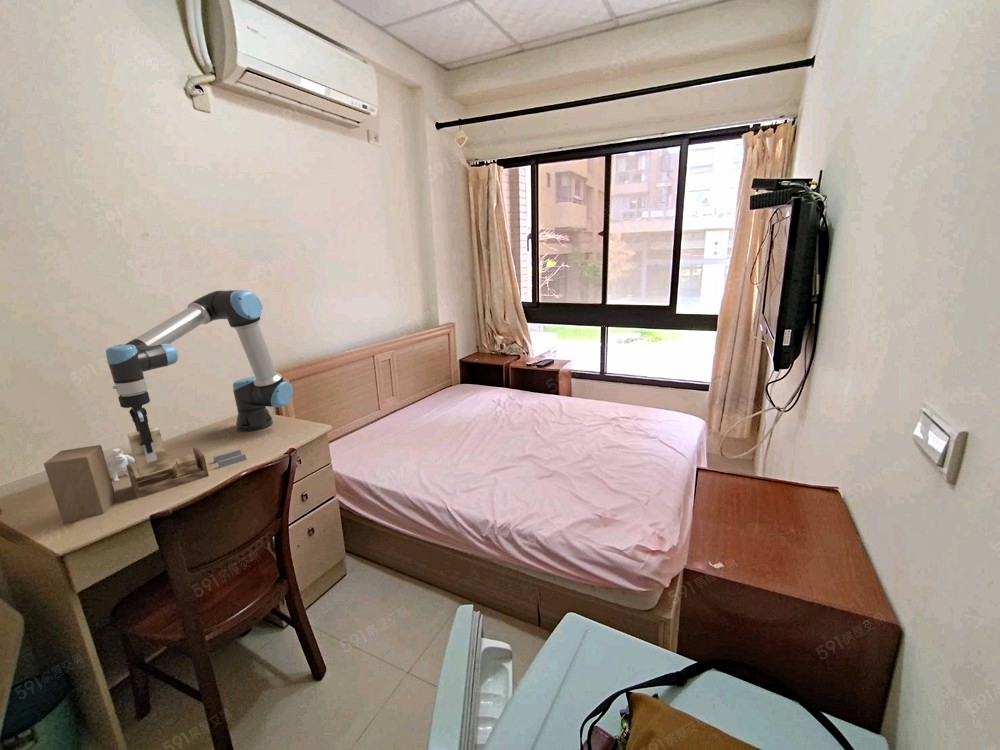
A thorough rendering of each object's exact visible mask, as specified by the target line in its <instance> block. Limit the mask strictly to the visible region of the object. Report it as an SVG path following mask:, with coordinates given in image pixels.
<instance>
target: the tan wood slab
mask: <svg viewBox="0 0 1000 750" xmlns="http://www.w3.org/2000/svg"><path fill="white" fill-rule="evenodd" d="M149 429H150V433H151V437H152V440H153V446H154V449H155V453H156V457H157V460H156V461H152V462H149V463H147V461H146V457H145V454H144V450H143V446H142V445H141V446H140V444H141V443H142V440H141V437H140V433H139V431H138V432H137V431H135V432H130V433H127V438H128V441H129V446H130V449H131V452H132V457H133V458H134V460H135V463H134V464H135V466H136V470H137V474H138V475H139V477H142V476H145V475H149V474H152V473H156V472H159V471H162V470H166V469H169V468H170V465H169V460H168V457H167V456H168V455H167V454H166V453H167V452H166V450H165V446H164V442H163V438H162V434H161V431H160V428H159V427H158V426H155V427H151V428H150V427H149Z"/></svg>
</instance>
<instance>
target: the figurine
mask: <svg viewBox="0 0 1000 750" xmlns="http://www.w3.org/2000/svg"><path fill="white" fill-rule="evenodd" d="M124 453H125V452H124V450H122V449H121V448H114V449H112V450H111V453H110V455H109V457H111V458H110V459H108V460H106V464H107V467H108V471H109V472H110V473H111V474H112V475H111V476H112V479H113V482H118V481H120V478H119V472H124V475H125V476H127V477H129V474H128V470H127V467H126V465H128V464H129V462H130V463H134V464H136V463H135V460H134V456H131V455H130V454H124Z"/></svg>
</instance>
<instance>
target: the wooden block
mask: <svg viewBox="0 0 1000 750" xmlns="http://www.w3.org/2000/svg"><path fill="white" fill-rule="evenodd" d="M106 461H107V460H106V457H105V454H104V449H103V448H102V445H101V444H97V445H90V446H84V447H77V448H71V449H63V450H61V451H58V452H57V453H56V454H55V455H53V456H52V457H51V458H49V459H48V460H47V461H45V462H44V463H43V466H44V469H45V472H46V475H47V478H48V479H47V480H48V481H49V484H50V488H51V490H52V491H51V492H52V493H53V497H54V499H55V503H56V505H57V509H58V512H59V515H60V517H61V521H62V523H63V525H67V524H71V523H77V522H80V521H79V520H81V519H85V518H89V517H95V516H100V515H104V514H106V512H107V511H108V510H109V509H110V508H111V507H112V505H113V504H114V502H116V500H117V496H116V492H115V489H114V485H113V482H112V478H111V475H110V470H108V467H107V464H106Z"/></svg>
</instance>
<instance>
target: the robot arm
mask: <svg viewBox="0 0 1000 750" xmlns="http://www.w3.org/2000/svg"><path fill="white" fill-rule="evenodd" d="M186 307H187V308H185V309H184V310H182V311H180V312H178V313H177V314H175V315H173V316H171V317H170V318H168V319H166V320H165V321H163V322H161V323H160V324H157V325H156V326H154V327H152V328H151V329H149V330H147V331H146V332H144V333H143V334H140V335H138V336H137V337H135V338H134V339H131V340H129V341H128V342H126V343H125V344H117V345H112V346H109V347H108V348H107V349H106V350H105V355H106V360H107V361H106V362H107V364H108V366H109V370H110V374H111V377H112V380H113V383H114V386H112V389H113V390H116V393H117V395H119V396H118V397H117V398H118V402H119V405H120V407H121V408H123V409H130V410H129V412H128V413H129V415H130V416H131V420H132V422H133V423H134V426H135V429H136V432H138V431H139V433H140V437H141V440H142V443H141V444H140V446H141V445H142V446H143V450H144V454H145V457H146V461H147V463H149V462H152V461H156V460H157V457H156V453H155V449H154V446H153V440H152V437H151V433H150V426H149V419H148V417H147V414H148V412H147V409H146V408H145V407H143V405H147V404H149V403H150V402H151V398H150V396H149V395H150V394H149V392H148V391H147V390H148V386H147V383H146V379H145V376H144V372H148V371H151V370H154V369H160V368H164V367H169V366H171V365H174V364H176V363H177V362H178V359H179V352H178V350H177V349H176V347H175V346H174V345H173V344H172V343H173V342H176V341H177V340H178V339H180V338H182V337H183V336H185V335H187V334H188V333H190V332H191V331H193V330H195V329H196V328H197V327H199V326H201V325H208V324H210V322H213V321H217V320H227V322H228V324H229V326H230V328H232V329H235V330H236V333H237V335H238V338H239V340H240V343H241V345H242V348H243V349H244V353H245V356H246V358H247V361H248V362H249V365H250V367H251V370H252V372H253V374H254V376H249V377H245V378H242V379H238V380H235V381H234V382H233V383H232V388H233V390H232V392H233V396H234V400H235V405H236V408H237V409H236V411H237V417H236V424H235V427H236V430H237V431H239V432H254V431H260V430H263V429H266V428H268V427H270V426H272V425H273V424H272V423H274V419H273V417H272V415H271V414H270V412H269V411H268V409H267V407H270V408H271V407H272V408H283V407H285V406H287V405H288V404H289V403H290V402H291V400H292V397H293V393H294V389H293V386H292V384H291V383H290V382H288V381H285V380H284V378H283V375H282V374H281V373H279V372H277V370H276V366H275V364H274V362H273V360H272V355H270V352H269V351H270V350H269V349H268V346H267V343H266V341H265V338H264V335H263V332H262V330H261V327H260V325H259V322H260V321H261V316H262V313H263V311H262V310H263V309H264V308H263V304H262V301H261V299H260V298H259V296H258V295H257V294H256V293H254V292H252V291H250V290H243V289H231V290H229V289H228V290H216V291H212V292H210V293H209V292H208V293H207V294H205V295H203V296H201V297H198V298H196V300H193V301H191V302H190V303H189V304H188V305H187V306H186ZM271 424H272V425H271ZM265 427H266V428H265ZM262 428H263V429H262ZM259 429H260V430H259Z"/></svg>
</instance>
